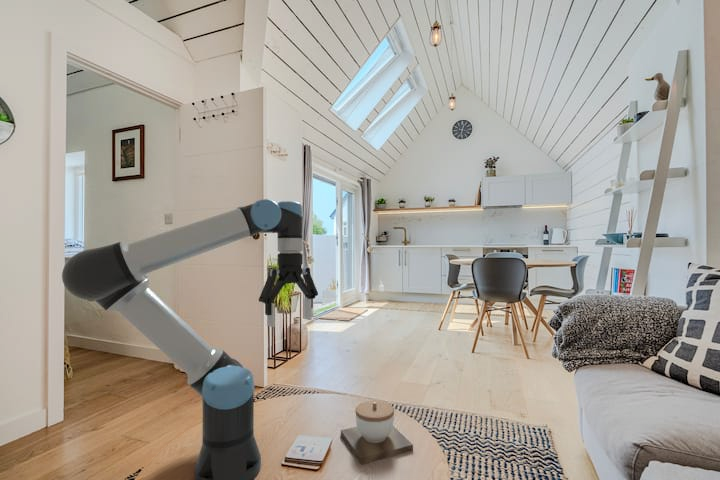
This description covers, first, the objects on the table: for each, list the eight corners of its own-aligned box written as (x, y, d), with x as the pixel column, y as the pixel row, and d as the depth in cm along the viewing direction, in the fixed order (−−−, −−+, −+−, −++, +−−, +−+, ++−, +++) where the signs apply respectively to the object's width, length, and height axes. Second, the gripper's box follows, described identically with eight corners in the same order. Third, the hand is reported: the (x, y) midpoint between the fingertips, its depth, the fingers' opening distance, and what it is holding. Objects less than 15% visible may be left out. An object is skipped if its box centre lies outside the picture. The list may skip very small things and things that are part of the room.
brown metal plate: (361, 464, 86) (361, 458, 86) (340, 435, 100) (340, 430, 100) (413, 450, 92) (412, 444, 92) (386, 424, 106) (386, 419, 106)
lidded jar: (396, 447, 91) (395, 411, 91) (355, 448, 91) (354, 411, 91) (392, 427, 101) (392, 394, 102) (356, 427, 102) (355, 394, 102)
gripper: (313, 252, 118) (313, 315, 117) (246, 252, 99) (246, 327, 98) (328, 252, 113) (329, 318, 112) (260, 252, 94) (260, 331, 93)
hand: (290, 322), depth 105 cm, fingers open, 13 cm apart
